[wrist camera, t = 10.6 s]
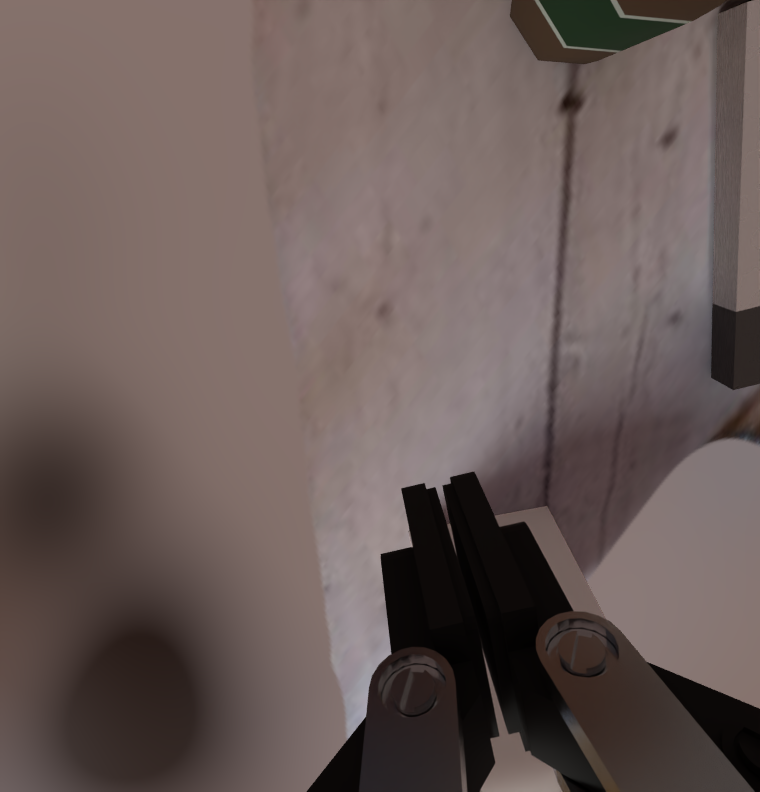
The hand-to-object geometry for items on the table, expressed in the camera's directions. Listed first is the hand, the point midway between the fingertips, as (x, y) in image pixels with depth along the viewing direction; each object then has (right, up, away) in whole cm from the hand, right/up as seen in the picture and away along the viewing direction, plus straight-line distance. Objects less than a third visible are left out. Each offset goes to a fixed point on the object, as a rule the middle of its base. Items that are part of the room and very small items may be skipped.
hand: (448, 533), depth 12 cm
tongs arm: (+23, +17, +24) cm, 37 cm away
